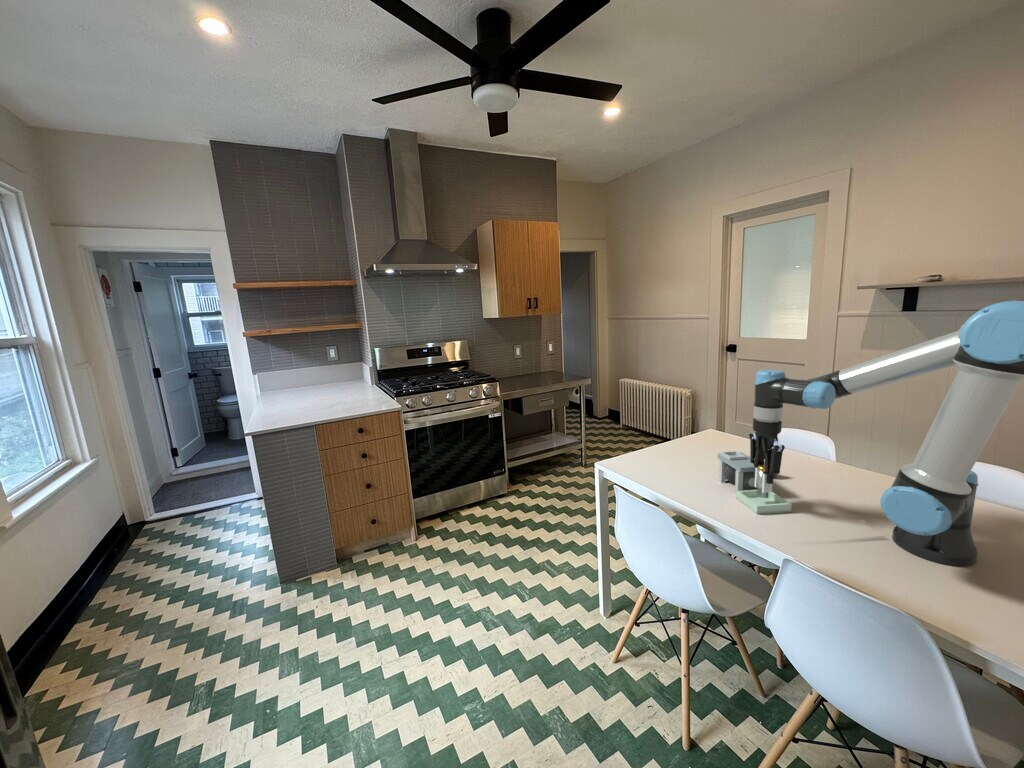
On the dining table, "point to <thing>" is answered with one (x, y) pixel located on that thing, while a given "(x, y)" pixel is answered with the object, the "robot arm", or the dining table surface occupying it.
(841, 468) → the dining table surface
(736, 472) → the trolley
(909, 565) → the dining table surface
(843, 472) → the dining table surface
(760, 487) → the pin
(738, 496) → the tray
